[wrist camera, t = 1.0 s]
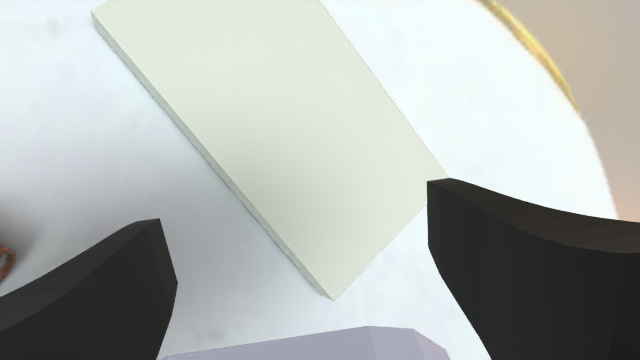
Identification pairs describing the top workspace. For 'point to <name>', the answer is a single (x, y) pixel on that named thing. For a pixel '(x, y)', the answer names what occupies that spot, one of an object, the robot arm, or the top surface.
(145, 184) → the top surface
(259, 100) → the sage stand
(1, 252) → the tin
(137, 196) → the top surface
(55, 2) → the top surface
